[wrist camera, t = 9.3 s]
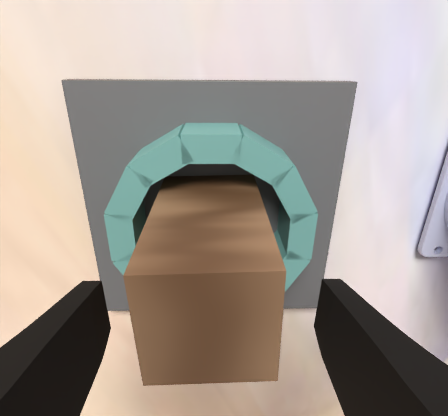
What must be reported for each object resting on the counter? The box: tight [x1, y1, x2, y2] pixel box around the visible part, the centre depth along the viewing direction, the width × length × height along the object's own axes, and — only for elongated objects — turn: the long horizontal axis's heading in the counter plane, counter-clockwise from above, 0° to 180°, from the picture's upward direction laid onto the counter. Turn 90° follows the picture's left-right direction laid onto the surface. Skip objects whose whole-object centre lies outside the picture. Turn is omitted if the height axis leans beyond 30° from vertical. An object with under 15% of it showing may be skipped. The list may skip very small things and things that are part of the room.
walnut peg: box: [123, 174, 286, 386], centre depth 13 cm, size 4×4×8 cm
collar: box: [62, 79, 357, 311], centre depth 16 cm, size 13×13×3 cm
